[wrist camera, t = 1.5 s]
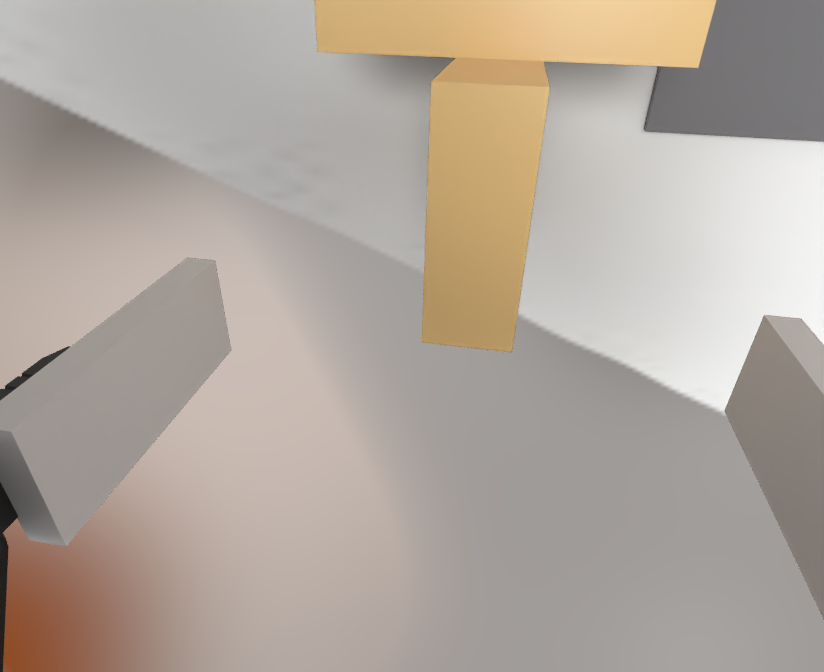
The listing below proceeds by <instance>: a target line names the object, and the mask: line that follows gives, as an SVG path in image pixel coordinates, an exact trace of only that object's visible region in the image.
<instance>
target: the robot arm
mask: <svg viewBox="0 0 824 672" xmlns="http://www.w3.org/2000/svg"><path fill="white" fill-rule="evenodd" d="M230 351H231V346H230V340H229V335H228V330H227V324H226V318H225V312H224V307H223V301H222V296H221V290H220V285H219V279H218V274H217V268H216V263H215V261H214V260H206V259H196V258H186V259H185V260H184V261H182V262H181V263H180V264H179V265H177V266H176V267H175V268H173V269H172V270H171V271H169V272H168V273H167V274H165V275H164V276H163V277H161V278H160V279H159V280H158V281H156V282H155V283H154V284H152V285H151V286H150V287H148V288H147V289H146V290H145V291H143V292H142V293H141V294H139V295H138V296H137V297H135V298H134V299H133V300H131V301H130V302H129V303H128V304H126V305H125V306H123V307H122V308H121V309H120V310H118V311H117V312H116V313H115V314H113V315H112V316H110V317H109V318H108V319H107V320H105V321H104V322H103V323H101V324H100V325H99V326H97V327H96V328H95V329H93V330H92V331H91V332H90V333H88V334H87V335H85V336H84V337H83V338H82V339H80V340H79V341H78V342H76V343H75V344H74V345H72V346H71V347H69V346H68V347H66V348H64V349H62V350H59V351H57V352H55V353H53V354H51V355H49V356H46V357H44V358H42V359H41V360H39V361H38V362H37V363H35V364H34V365H33V366H31V367H30V368H28V370H26V371H24V372H23V373H22V376H21V377H17V378H15V379H14V380H13V381H11V382H10V383H8V384H7V385H6V386H5V389H0V672H3V655H4V632H5V631H4V630H5V611H6V589H7V586H6V585H7V566H8V545H7V541H6V538H5V536H4V534H3V532H4V531H5V530H6V529H7V528H8V526H10V525H11V524H12V523H13V522H14V520H15V519H16V518H18V520H19V522H20V524H21V526H22V528H23V530H24V532H25V533H26V535H27V537H28V539H29V540H33V541H39V542H44V543H50V544H55V545H60V546H67V545H68V544H69V543H70V542H71V540H72V539H73V538H74V537H75V536H76V534H77V533H78V532H79V531H80V530H81V528H82V527H83V526H84V525H85V524H86V523H87V521H88V520H89V519H90V518H91V517H92V515H93V514H94V513H95V512H96V511H97V509H98V508H99V507H100V506H101V505H102V503H103V502H104V501H105V500H106V499H107V498H108V496H109V495H110V494H111V493H112V492H113V490H114V489H115V488H116V487H117V485H118V484H119V483H120V482H121V481H122V480H123V479H124V477H125V476H126V475H127V474H128V473H129V471H130V470H131V469H132V468H133V467H134V465H135V464H136V463H137V462H138V461H139V459H140V458H141V457H142V456H143V455H144V454H145V452H146V451H147V450H148V449H149V447H150V446H151V445H152V444H153V443H154V442H155V440H156V439H157V438H158V437H159V436H160V434H161V433H162V432H163V431H164V430H165V429H166V427H167V426H168V425H169V424H170V423H171V421H172V420H173V419H174V418H175V417H176V415H177V414H178V413H179V412H180V411H181V409H182V408H183V407H184V406H185V405H186V403H187V402H188V401H189V400H190V399H191V398H192V396H193V395H194V394H195V393H196V392H197V390H198V389H199V388H200V387H201V386H202V385H203V383H204V382H205V381H206V380H207V379H208V377H209V376H210V375H211V374H212V373H213V371H214V370H215V369H216V368H217V367H218V365H219V364H220V363H221V362H222V361H223V360H224V358H225V357H226V356H227V355H228V354H229V352H230ZM725 413H726V415H727V417H728V420H729V422H730V423H731V426H732V428H733V430H734V432H735V434H736V436H737V438H738V440H739V443H740V445H741V447H742V449H743V451H744V453H745V455H746V457H747V459H748V461H749V464H750V466H751V468H752V470H753V472H754V474H755V476H756V478H757V480H758V483H759V485H760V487H761V489H762V491H763V493H764V495H765V497H766V499H767V501H768V504H769V506H770V507H771V510H772V512H773V514H774V516H775V518H776V520H777V522H778V525H779V526H780V529H781V531H782V533H783V535H784V537H785V539H786V541H787V543H788V546H789V547H790V550H791V552H792V554H793V556H794V558H795V560H796V562H797V564H798V567H799V569H800V571H801V573H802V575H803V577H804V579H805V581H806V583H807V586H808V588H809V590H810V592H811V594H812V596H813V598H814V600H815V602H816V604H817V607H818V608H819V611H820V613H821V615H822V617H823V619H824V345H823V344H822V342H821V341H820V340H819V339H818V338H817V337H816V335H815V334H814V333H813V332H812V331H811V330H810V328H809V327H808V326H807V325H806V324H805V323H804V321H803V320H802V319H799V318H789V317H779V316H769V315H764V317H763V319H762V321H761V324H760V326H759V329H758V331H757V334H756V336H755V338H754V341H753V343H752V346H751V348H750V350H749V353H748V355H747V358H746V360H745V362H744V365H743V367H742V370H741V372H740V375H739V377H738V379H737V382H736V384H735V387H734V389H733V391H732V394H731V396H730V399H729V401H728V404H727V406H726V408H725Z"/></svg>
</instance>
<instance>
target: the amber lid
mask: <svg viewBox="0 0 824 672" xmlns="http://www.w3.org/2000/svg"><path fill="white" fill-rule="evenodd" d="M314 2H315V18H316V34H317V50H318V52H331V53H355V54H379V55H403V56H427V57H451V58H455V59H454V60H453V61H452V62H451V63H450V64H449V65H448V66H447V67H446V68H445V69H444V70H443V71H442V72H440V73H439V74H438V75H437V76H436V77H435V78H434V79H433V80H432V81H431V101H430V129H429V156H428V184H427V211H426V239H425V266H424V293H423V321H422V342H423V343H432V344H441V345H450V346H459V347H467V348H477V349H486V350H494V351H504V352H512V350H513V342H514V336H515V329H516V321H517V315H518V308H519V301H520V294H521V287H522V280H523V273H524V266H525V259H526V252H527V245H528V238H529V231H530V224H531V217H532V210H533V203H534V196H535V189H536V182H537V175H538V168H539V161H540V154H541V147H542V140H543V133H544V126H545V119H546V112H547V105H548V98H549V91H550V85H549V81H548V77H547V73H546V69H545V66H544V62H543V61H546V62H570V63H594V64H618V65H642V66H666V67H690V68H698V67H699V63H700V59H701V55H702V52H703V48H704V44H705V41H706V37H707V33H708V30H709V26H710V22H711V19H712V15H713V11H714V7H715V4H716V0H314Z"/></svg>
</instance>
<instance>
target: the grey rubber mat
mask: <svg viewBox="0 0 824 672" xmlns="http://www.w3.org/2000/svg"><path fill="white" fill-rule="evenodd" d="M644 130H645V131H650V132H668V133H685V134H703V135H720V136H738V137H755V138H773V139H790V140H808V141H824V0H716V4H715V7H714V11H713V15H712V19H711V22H710V26H709V30H708V33H707V37H706V41H705V44H704V48H703V52H702V55H701V59H700V63H699V67H698V68H690V67H666V66H659V67H658V71H657V76H656V80H655V84H654V88H653V93H652V97H651V101H650V105H649V110H648V114H647V118H646V122H645V127H644Z"/></svg>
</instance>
